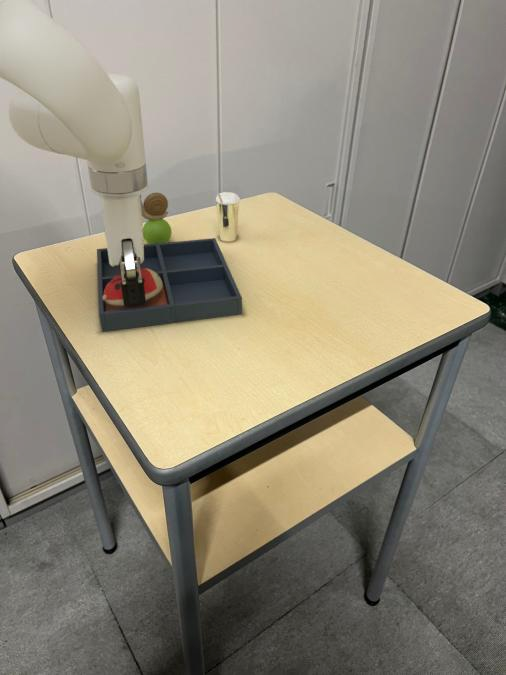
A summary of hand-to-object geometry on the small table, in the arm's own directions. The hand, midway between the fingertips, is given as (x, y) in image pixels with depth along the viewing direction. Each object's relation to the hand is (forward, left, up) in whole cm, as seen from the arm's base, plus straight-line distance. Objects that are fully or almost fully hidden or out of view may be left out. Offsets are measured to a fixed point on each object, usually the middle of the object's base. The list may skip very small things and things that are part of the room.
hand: (133, 290), depth 80 cm
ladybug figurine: (0, 0, -1) cm, 1 cm away
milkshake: (+19, +21, -4) cm, 29 cm away
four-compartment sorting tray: (+5, +5, -3) cm, 8 cm away
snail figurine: (+5, +21, -4) cm, 22 cm away
